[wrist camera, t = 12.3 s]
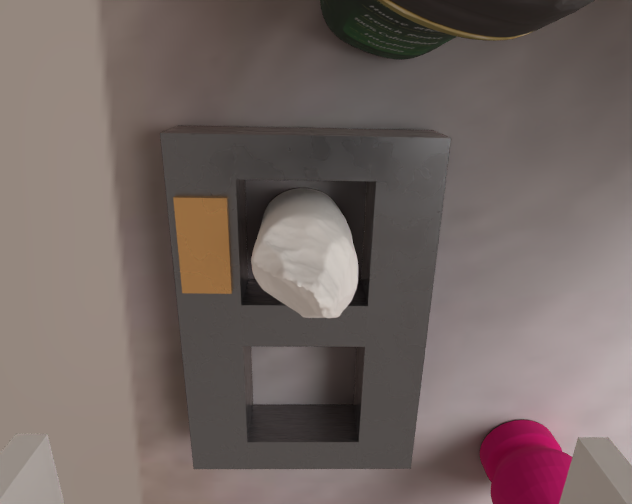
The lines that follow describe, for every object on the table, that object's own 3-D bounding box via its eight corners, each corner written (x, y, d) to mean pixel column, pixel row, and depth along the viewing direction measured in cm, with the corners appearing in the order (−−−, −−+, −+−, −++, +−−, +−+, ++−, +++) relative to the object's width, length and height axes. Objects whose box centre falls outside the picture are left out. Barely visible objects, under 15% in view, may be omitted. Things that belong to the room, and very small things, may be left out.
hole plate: (432, 129, 29) (453, 138, 25) (400, 429, 38) (411, 472, 34) (178, 125, 29) (157, 133, 25) (204, 429, 37) (192, 473, 33)
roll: (215, 326, 20) (279, 223, 19) (247, 237, 31) (289, 167, 30) (329, 384, 22) (399, 291, 20) (321, 278, 33) (365, 213, 31)
